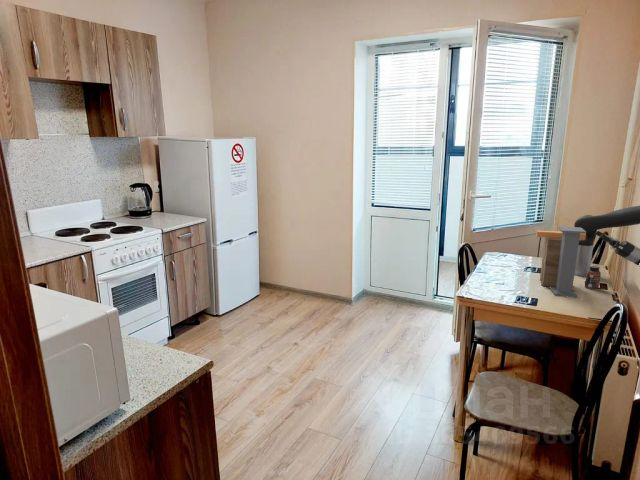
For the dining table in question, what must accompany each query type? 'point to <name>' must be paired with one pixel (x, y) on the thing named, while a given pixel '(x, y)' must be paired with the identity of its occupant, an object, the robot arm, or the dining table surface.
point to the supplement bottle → (593, 277)
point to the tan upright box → (550, 261)
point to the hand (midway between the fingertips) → (598, 234)
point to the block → (554, 234)
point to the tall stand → (567, 261)
